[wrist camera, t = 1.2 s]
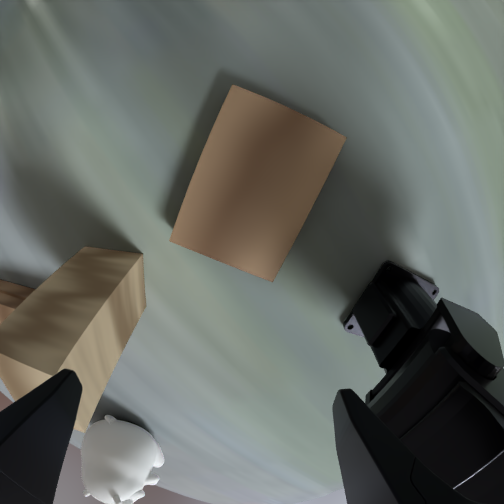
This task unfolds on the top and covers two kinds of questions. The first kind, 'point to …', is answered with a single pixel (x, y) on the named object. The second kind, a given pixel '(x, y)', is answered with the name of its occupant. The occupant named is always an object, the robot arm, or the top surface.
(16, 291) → the plank stack
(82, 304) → the upright offcut
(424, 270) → the top surface
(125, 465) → the figurine
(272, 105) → the loose offcut
